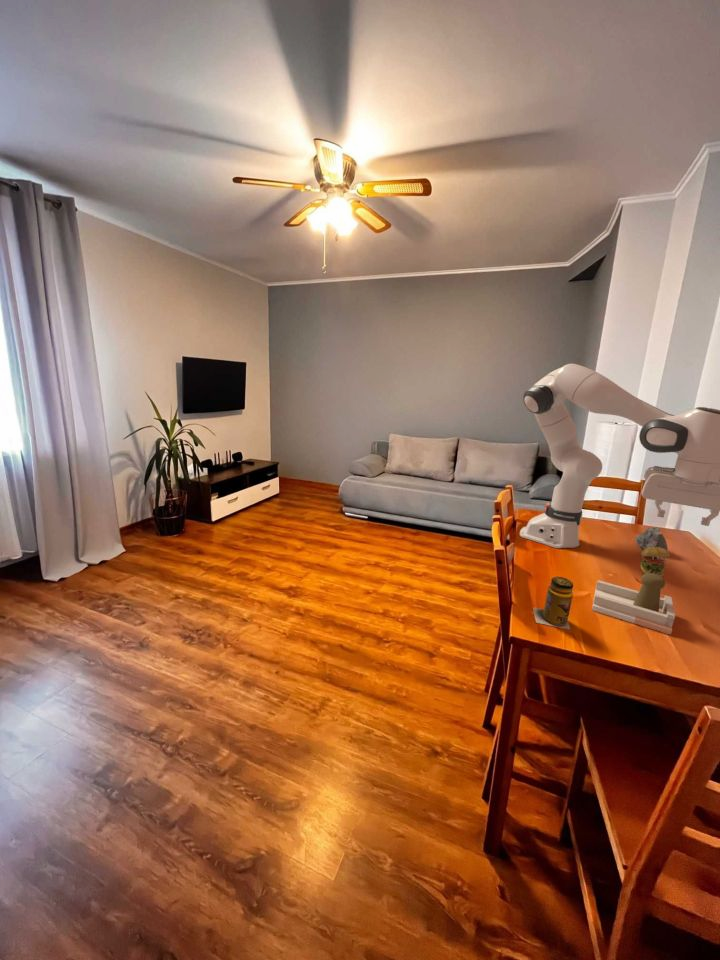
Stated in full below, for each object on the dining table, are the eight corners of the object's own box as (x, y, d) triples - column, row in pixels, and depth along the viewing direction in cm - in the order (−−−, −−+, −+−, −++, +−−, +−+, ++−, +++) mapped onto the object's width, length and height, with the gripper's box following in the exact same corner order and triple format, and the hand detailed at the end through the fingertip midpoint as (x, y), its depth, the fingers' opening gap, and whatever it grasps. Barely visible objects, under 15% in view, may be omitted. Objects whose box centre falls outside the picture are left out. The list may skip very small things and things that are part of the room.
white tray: (592, 610, 110) (595, 594, 108) (595, 589, 121) (598, 575, 120) (670, 635, 100) (675, 618, 99) (666, 610, 111) (670, 595, 110)
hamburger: (647, 580, 128) (656, 547, 125) (631, 569, 135) (639, 538, 132) (669, 580, 129) (678, 547, 126) (652, 569, 136) (660, 538, 133)
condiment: (570, 630, 100) (579, 589, 97) (536, 623, 103) (543, 583, 100) (565, 614, 107) (573, 576, 104) (532, 608, 110) (539, 570, 106)
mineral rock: (634, 540, 162) (640, 518, 159) (666, 548, 155) (672, 525, 153) (632, 550, 152) (638, 526, 149) (666, 558, 145) (673, 534, 143)
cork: (663, 617, 105) (673, 582, 102) (639, 615, 106) (648, 579, 103) (650, 605, 111) (660, 571, 108) (628, 602, 111) (636, 568, 109)
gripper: (647, 466, 103) (635, 514, 106) (751, 480, 92) (734, 533, 95) (646, 462, 108) (635, 509, 111) (745, 475, 97) (729, 526, 100)
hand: (681, 520), depth 103 cm, fingers open, 8 cm apart
